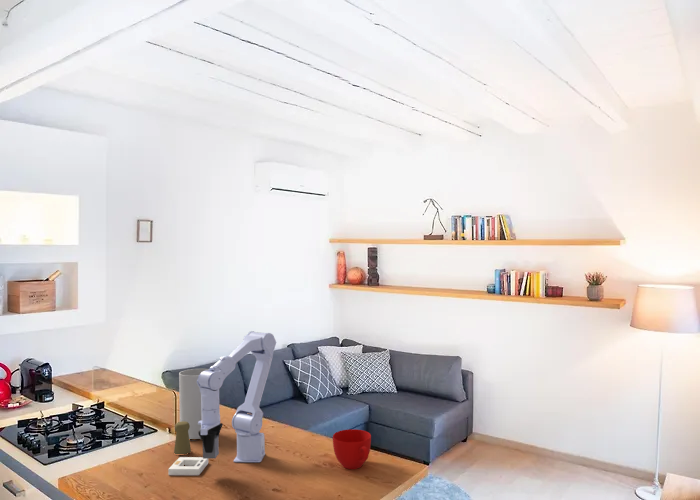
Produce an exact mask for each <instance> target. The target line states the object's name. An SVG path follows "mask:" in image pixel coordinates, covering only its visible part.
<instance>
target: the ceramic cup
mask: <svg viewBox="0 0 700 500" xmlns="http://www.w3.org/2000/svg"><path fill="white" fill-rule="evenodd" d="M371 444H372V435H371V433H370V432H368V431H366V430H362V429H357V428H354V429H350V428H349V429H342V430H339V431H337V432H335V433H333V434H332V446H333V451H334V455H335V457H336V460H337V461H338V462H339V463H340V464H341V466H342V468H344V469H348V470H356V469H360V468H361V467H362V466H363V465H364V464H365V462H367V461H368V458H369V455H370V452H371Z"/></svg>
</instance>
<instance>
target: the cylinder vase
mask: <svg viewBox="0 0 700 500" xmlns="http://www.w3.org/2000/svg"><path fill="white" fill-rule="evenodd" d="M209 369H210V368H191V369H186V370H183V371H180V372H179V373H178V384H179V385H178V386H179V389H178V390H179V392H178V393H179V395H178V396H179V422H181V421H186V422H188V423H189V425H190V428H189V430H188V433H189V439H200V440H202V439H201V438H200V436H199V433H198V432H199V431H200V429H201V425H200V424H198V422H199V421H201V420H202V415H201V392H200V388H199V386H198V385H197V380H198V377H199V375H200V374H201V373H202V372H203V371H206V370H209Z"/></svg>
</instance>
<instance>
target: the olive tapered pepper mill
mask: <svg viewBox="0 0 700 500" xmlns="http://www.w3.org/2000/svg"><path fill="white" fill-rule="evenodd" d="M189 428H190V425H189V423H188V422H186V421H181V422H180V421H178V422H176V423H175V424H174V432H175V433H176V434H175V442H174V447H173V448H174V449H173V454H174V453H175V454H187V453H190V452H191V453H192V447H191V440H189V433H188V430H189ZM191 453H190V454H191ZM187 455H188V454H187Z"/></svg>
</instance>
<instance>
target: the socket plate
mask: <svg viewBox="0 0 700 500" xmlns="http://www.w3.org/2000/svg"><path fill="white" fill-rule="evenodd" d="M208 464H209V458H208V459H203V456H202V457H201V456H198V457H197V456H196V457H195V456H193V457H192V456H189V457H188V456H179V457H178V459H176V460H175V461H174V462H173V464H171V466H170V467H169V468H168V471H167V472H168V475H167V476H200V474H201V473H202V472H203V471H204V470H205V468H206V467H207V466H208ZM184 465H185V466H184Z"/></svg>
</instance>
